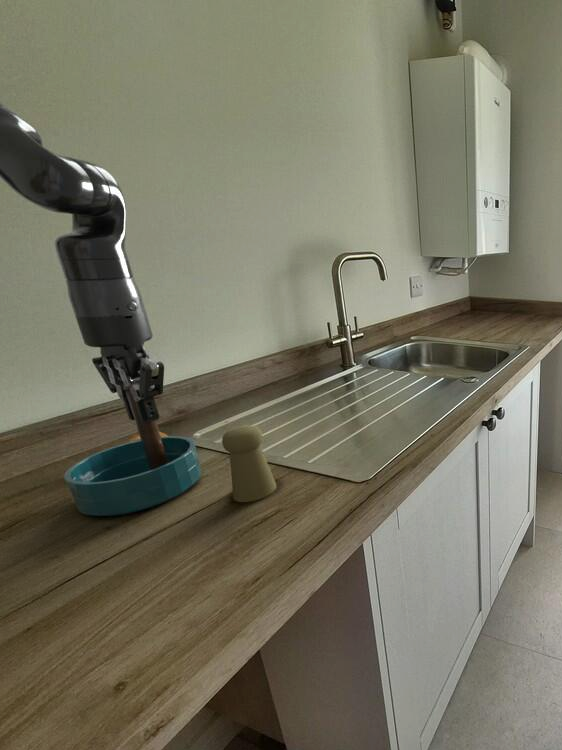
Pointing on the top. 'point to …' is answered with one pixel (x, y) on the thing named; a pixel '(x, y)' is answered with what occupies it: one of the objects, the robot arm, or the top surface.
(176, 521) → the top surface
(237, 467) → the cork
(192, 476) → the bowl
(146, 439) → the stirring stick
